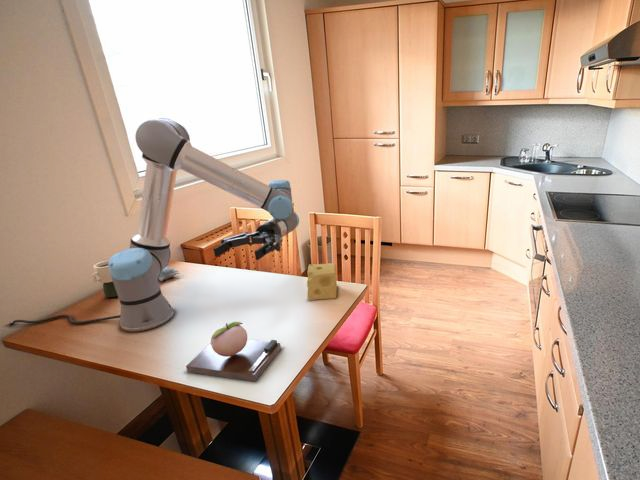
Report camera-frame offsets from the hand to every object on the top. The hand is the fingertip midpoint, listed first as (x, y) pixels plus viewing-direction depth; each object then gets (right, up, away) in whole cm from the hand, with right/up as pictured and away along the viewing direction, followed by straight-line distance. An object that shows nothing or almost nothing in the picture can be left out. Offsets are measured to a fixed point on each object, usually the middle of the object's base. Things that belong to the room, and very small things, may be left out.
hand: (235, 254), depth 111 cm
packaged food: (-48, -10, +46) cm, 67 cm away
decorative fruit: (+3, -28, -8) cm, 29 cm away
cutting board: (+3, -29, -7) cm, 30 cm away
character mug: (-58, -16, +33) cm, 69 cm away
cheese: (+21, -14, +29) cm, 39 cm away
